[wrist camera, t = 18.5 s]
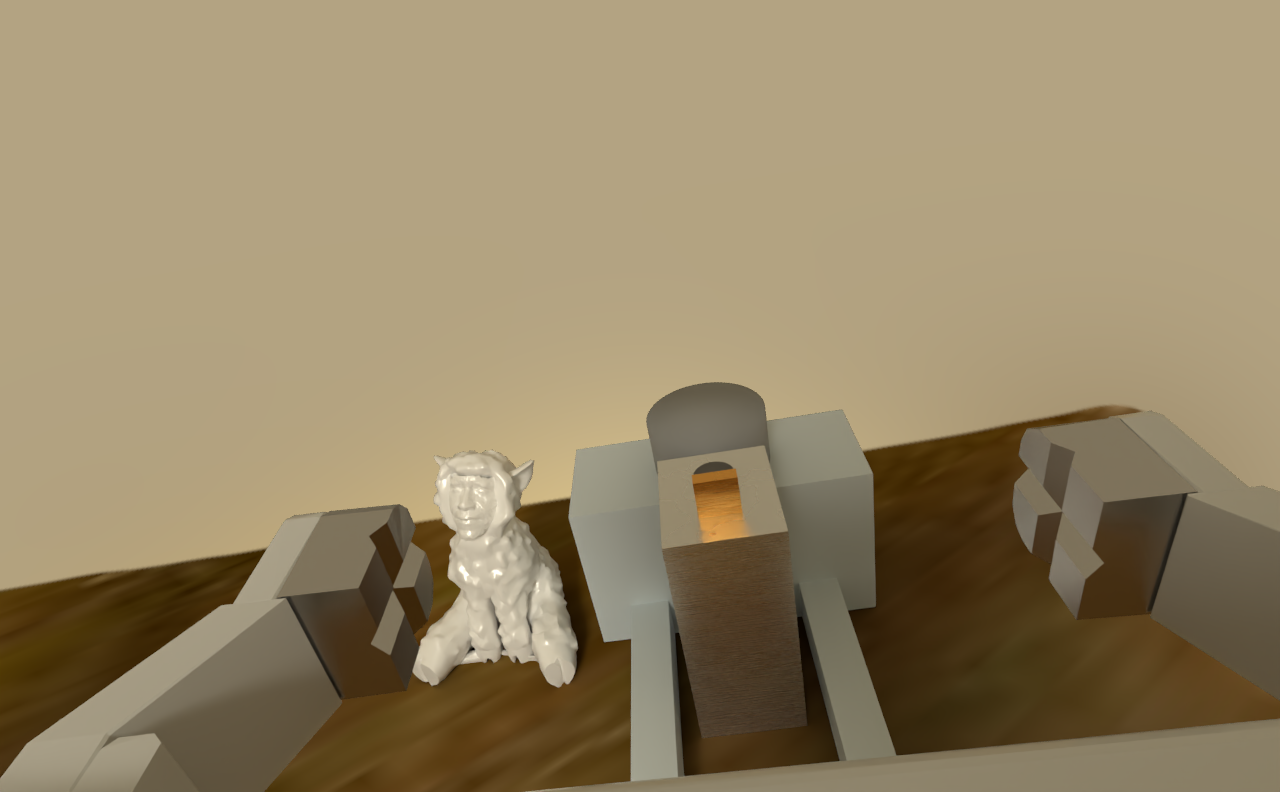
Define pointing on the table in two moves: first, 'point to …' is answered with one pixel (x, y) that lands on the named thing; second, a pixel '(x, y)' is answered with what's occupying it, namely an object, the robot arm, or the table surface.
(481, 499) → the white creature statuette
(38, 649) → the table surface
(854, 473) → the bracket
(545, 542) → the table surface
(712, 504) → the block
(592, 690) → the table surface
